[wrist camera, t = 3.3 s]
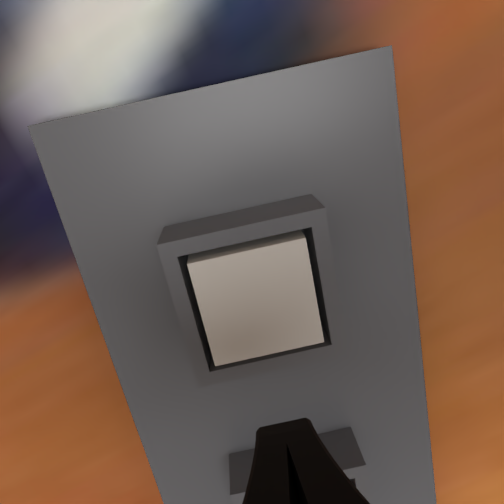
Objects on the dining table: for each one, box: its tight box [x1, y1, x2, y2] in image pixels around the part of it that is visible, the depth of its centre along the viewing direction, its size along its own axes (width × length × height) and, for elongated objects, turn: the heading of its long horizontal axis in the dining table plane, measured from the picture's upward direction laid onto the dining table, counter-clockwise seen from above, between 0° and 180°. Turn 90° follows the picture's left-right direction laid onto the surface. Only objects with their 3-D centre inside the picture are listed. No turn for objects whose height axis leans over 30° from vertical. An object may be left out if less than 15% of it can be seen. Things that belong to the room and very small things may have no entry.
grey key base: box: [28, 45, 436, 504], centre depth 21 cm, size 14×28×4 cm, turn 12°
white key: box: [187, 229, 324, 366], centre depth 18 cm, size 4×4×2 cm
